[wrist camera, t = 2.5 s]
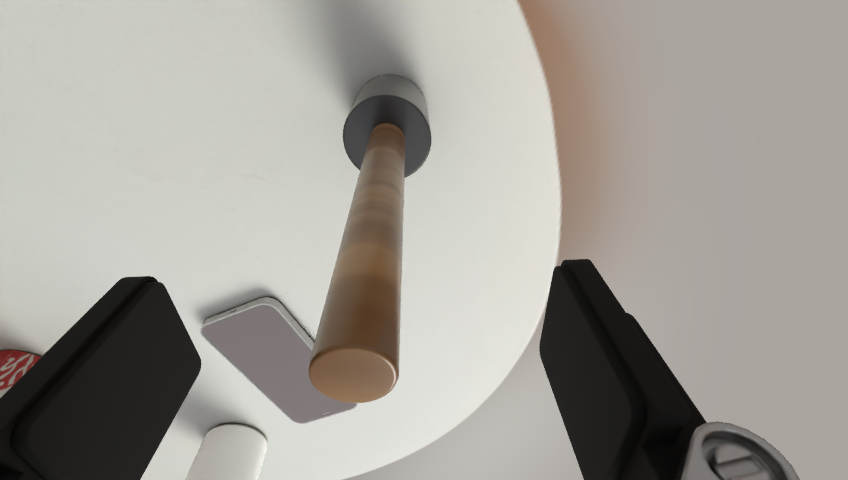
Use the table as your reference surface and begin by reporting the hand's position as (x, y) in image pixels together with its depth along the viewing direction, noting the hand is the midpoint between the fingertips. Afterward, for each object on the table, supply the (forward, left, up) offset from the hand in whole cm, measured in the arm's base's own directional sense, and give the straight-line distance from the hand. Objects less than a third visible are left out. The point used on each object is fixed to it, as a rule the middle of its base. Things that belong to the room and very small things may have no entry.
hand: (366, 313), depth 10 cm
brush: (0, 0, -17) cm, 17 cm away
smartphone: (+22, -11, -17) cm, 30 cm away
